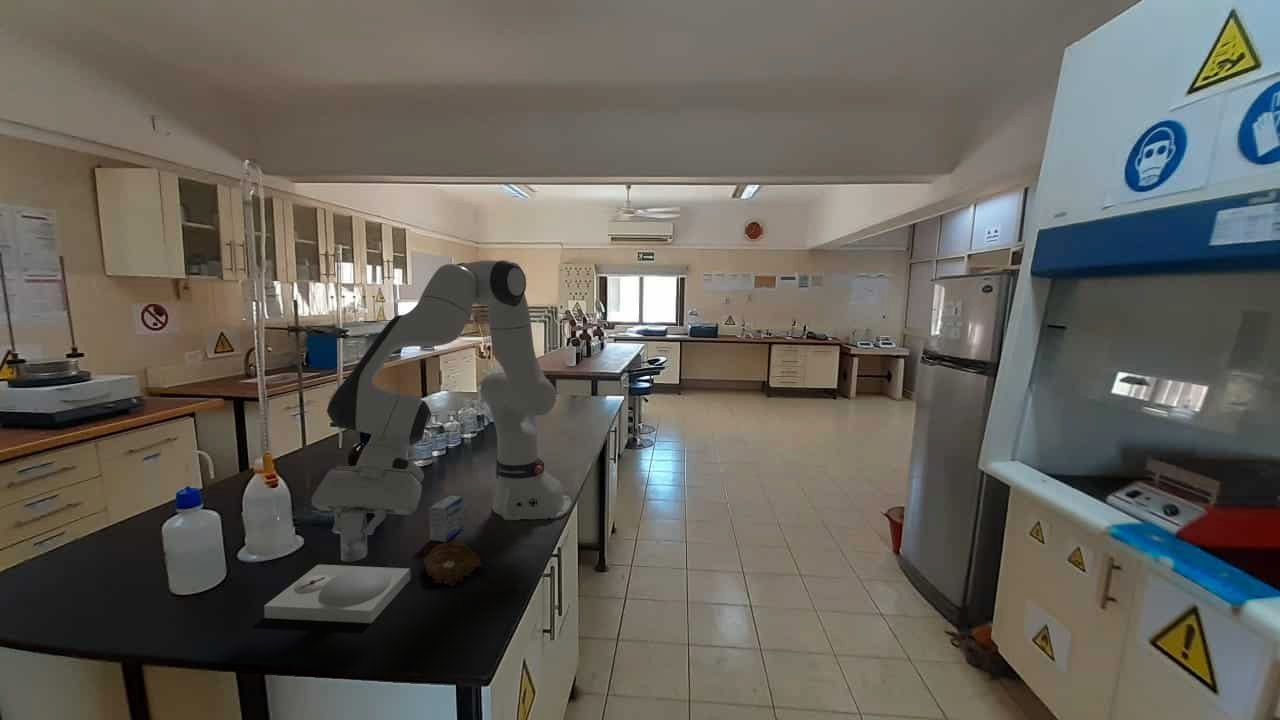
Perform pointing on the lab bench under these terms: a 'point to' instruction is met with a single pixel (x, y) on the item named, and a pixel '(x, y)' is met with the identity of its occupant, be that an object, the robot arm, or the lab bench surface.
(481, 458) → the lab bench surface
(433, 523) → the medicine box
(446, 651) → the lab bench surface
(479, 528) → the lab bench surface
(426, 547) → the lab bench surface
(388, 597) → the white shallow tray
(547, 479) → the robot arm
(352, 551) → the cylinder
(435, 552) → the decorative rock
